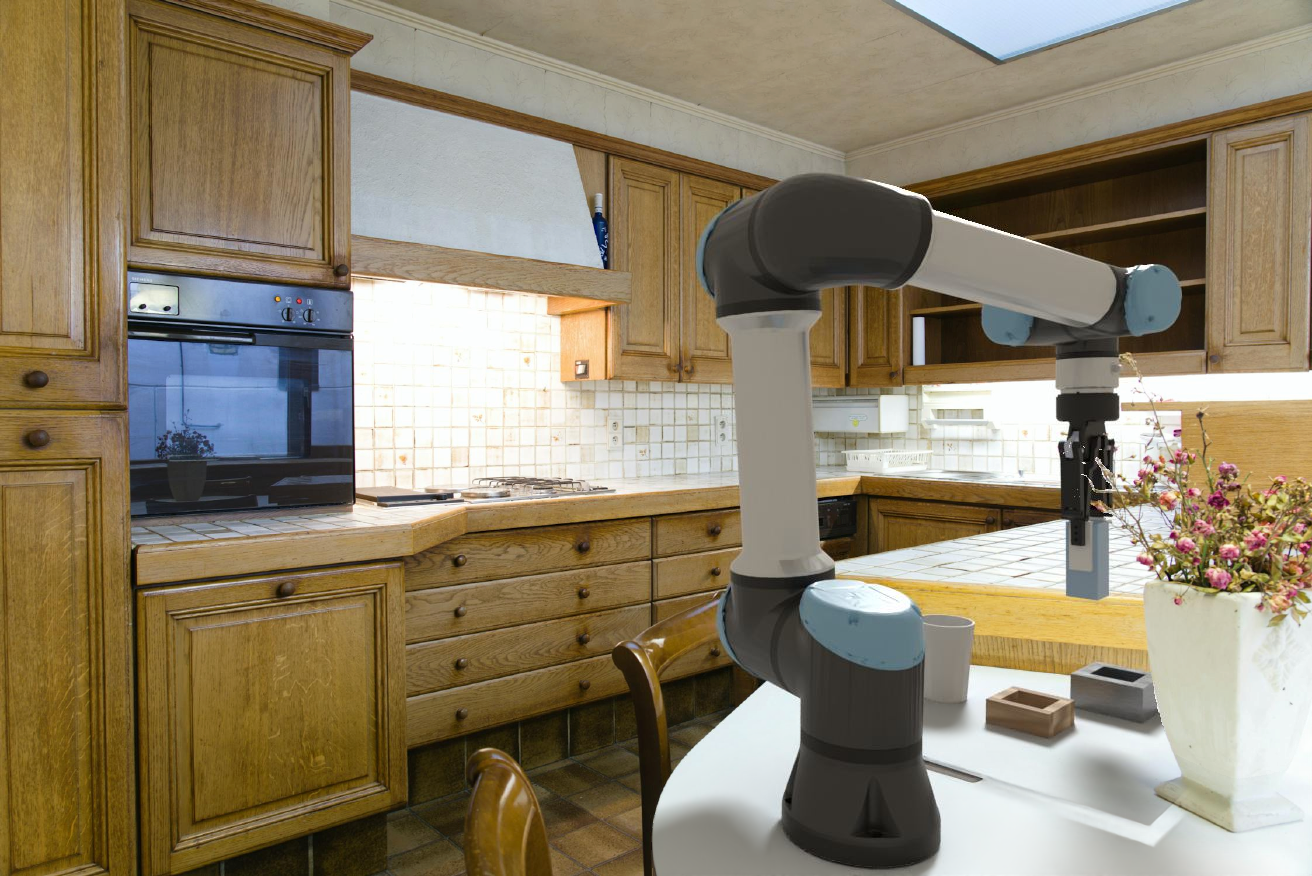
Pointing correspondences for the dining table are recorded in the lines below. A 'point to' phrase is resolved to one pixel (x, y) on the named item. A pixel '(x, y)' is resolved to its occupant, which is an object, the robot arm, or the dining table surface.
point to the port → (1114, 691)
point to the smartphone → (951, 772)
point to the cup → (947, 657)
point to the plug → (1097, 580)
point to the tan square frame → (1030, 711)
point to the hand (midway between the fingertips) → (1087, 567)
